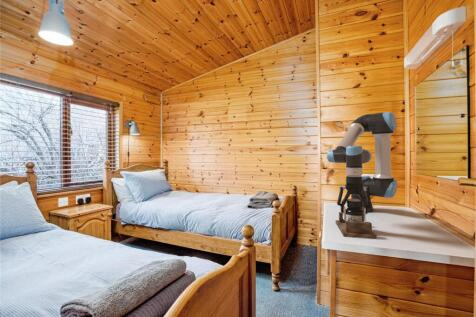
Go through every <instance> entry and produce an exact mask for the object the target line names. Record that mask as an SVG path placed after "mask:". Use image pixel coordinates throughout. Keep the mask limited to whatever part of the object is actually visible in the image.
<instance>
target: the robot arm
mask: <svg viewBox="0 0 476 317" xmlns="http://www.w3.org/2000/svg"><path fill="white" fill-rule="evenodd" d="M397 125H398V124H397V119H396V116H395V114H394V113H393V112H392V111H382V112H376V113H367V114H364V115H361V116H359V117H357V118H356V119H355V120H353V121H352V122H351V123H350V124H349V125H348V130H347V131H346V133H344V135H343V137H342V139H341V140H340V141H339V143H338V144H337V146H336V147H335V148H334V149H330V150H327V153H326V159H327V161H328V162H329V163H334V164H346V165H345V167H346V168H345V175H346V177H345V185H343V186H341V185H340V186H339V187H338V188H339V194H338V197H337V201H336V205H337V206H340V212H341V213H343V219H344V220H345V219H346V209H347V206H345V205H346V204H347V200H348V199H358V200H361V201H362V208H361V209H362V210H363V211H364V222H367V221H366V219H367V218H366V217H367V216H366V215H368V213H370V212H371V213H372V212H373V211H374V207H373V204H372V200H371V196H372V197H380V198H385V199H391V198H392V199H393V198H395V195H396V193H397V189H398V180H397V179H395V177H394V175H393V174H392V165H391V164H392V161H391V160H392V157H391V156H392V154H391V152H392V151H391V150H392V149H391V147H392V146H391V136H392V135H393V134H394V131H396V130H397ZM364 133H371V136H373V137H374V163H375V164H374V167H375V168H374V173H375V174H373V175H372V178H371V176H370V175H363V164H367V163H369V162H370V161H371V160H372V157H373V156H372V153H371V152H370V151H369V150H367V149H365V148H364V149H363V145H355V144H356V142H357V141H358V139H359V137H360V136H362V135H363V134H364ZM345 189H346V194H345V195H344V197H343V194H344V191H345ZM350 196H351V197H350Z"/></svg>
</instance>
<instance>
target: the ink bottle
mask: <svg viewBox="0 0 476 317" xmlns="http://www.w3.org/2000/svg"><path fill="white" fill-rule="evenodd" d="M361 208H362V201H361V200H358V199H351V198H348V200H347V202H346V219H345V221H360V222H365V221H364V211H363V210H362V209H361Z"/></svg>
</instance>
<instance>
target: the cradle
mask: <svg viewBox="0 0 476 317" xmlns="http://www.w3.org/2000/svg"><path fill="white" fill-rule="evenodd" d="M335 224H336V226H337V228H338V229H339V231H340V233H341V234H342V236H343V237H344V238H345V237H346V238H359V239H373V240H374V239H377V235H376V234H375V232H373V230H372V229H373V228H372V227H373V223H372V222H371V221H364V222H360V221H345V220H344V219H343V213H341V211H340V212H339V211H338V220H337V219H335Z"/></svg>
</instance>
